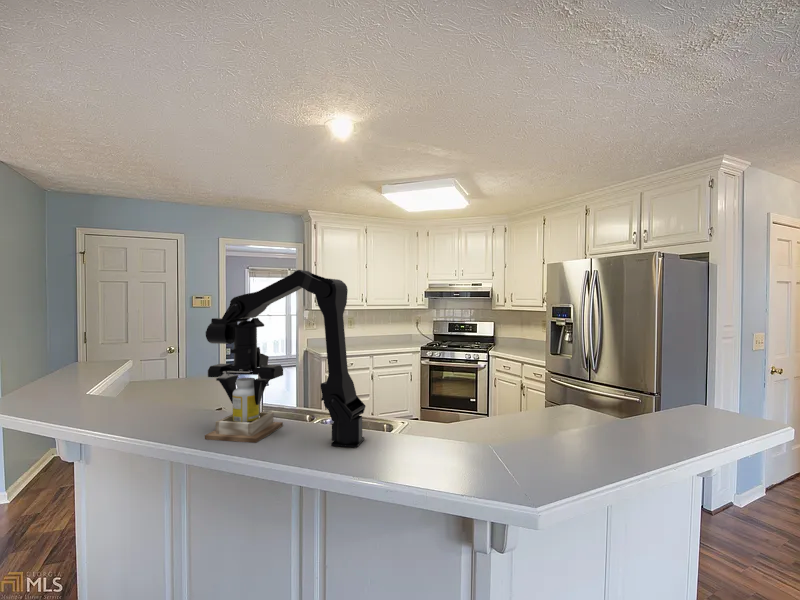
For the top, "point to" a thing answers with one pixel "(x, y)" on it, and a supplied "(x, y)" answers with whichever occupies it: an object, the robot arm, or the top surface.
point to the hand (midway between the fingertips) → (245, 404)
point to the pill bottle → (245, 401)
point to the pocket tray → (244, 429)
